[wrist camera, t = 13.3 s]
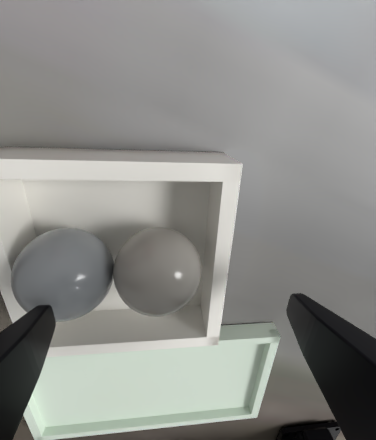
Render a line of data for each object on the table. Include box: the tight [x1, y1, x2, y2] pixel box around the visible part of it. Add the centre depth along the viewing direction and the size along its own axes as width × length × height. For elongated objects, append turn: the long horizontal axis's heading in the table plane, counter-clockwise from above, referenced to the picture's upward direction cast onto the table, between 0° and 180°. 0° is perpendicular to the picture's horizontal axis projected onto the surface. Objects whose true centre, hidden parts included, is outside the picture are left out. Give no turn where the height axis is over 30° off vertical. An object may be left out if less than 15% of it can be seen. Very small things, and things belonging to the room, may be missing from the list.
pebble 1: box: [11, 228, 114, 322], centre depth 10 cm, size 4×4×4 cm
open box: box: [0, 147, 243, 357], centre depth 12 cm, size 10×10×3 cm
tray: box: [23, 322, 281, 440], centre depth 17 cm, size 10×18×1 cm, turn 88°
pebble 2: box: [113, 227, 201, 317], centre depth 11 cm, size 4×4×4 cm
